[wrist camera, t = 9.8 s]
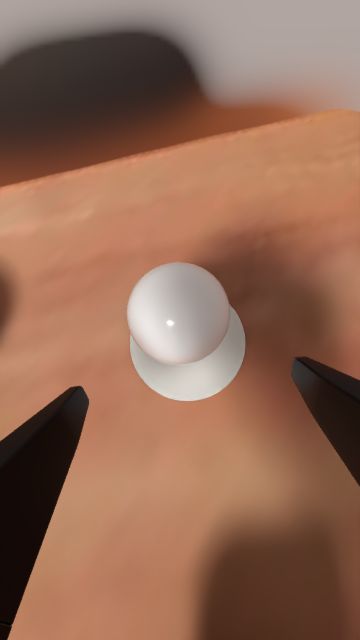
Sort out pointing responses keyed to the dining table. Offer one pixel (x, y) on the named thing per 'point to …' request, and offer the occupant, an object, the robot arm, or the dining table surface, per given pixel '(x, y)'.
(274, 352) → the dining table surface
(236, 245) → the dining table surface
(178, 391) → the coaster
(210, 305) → the lightbulb
